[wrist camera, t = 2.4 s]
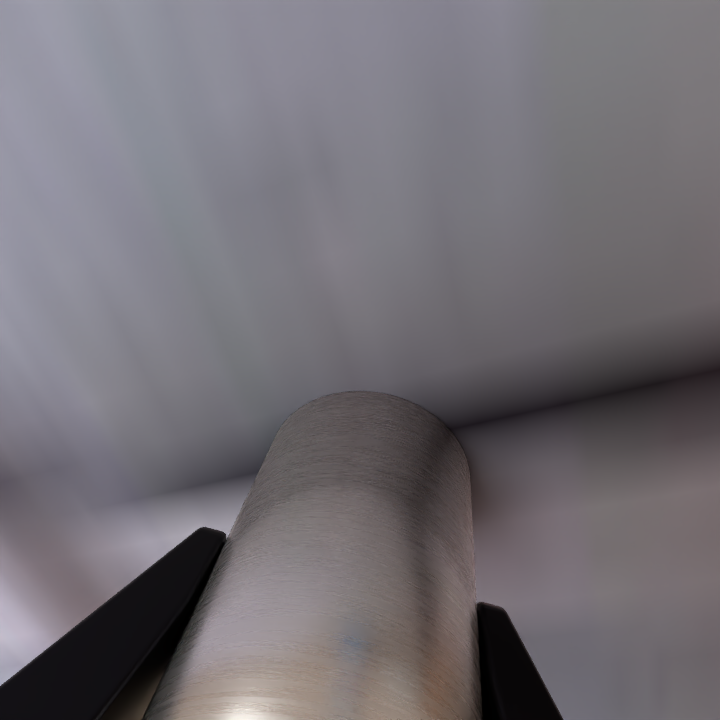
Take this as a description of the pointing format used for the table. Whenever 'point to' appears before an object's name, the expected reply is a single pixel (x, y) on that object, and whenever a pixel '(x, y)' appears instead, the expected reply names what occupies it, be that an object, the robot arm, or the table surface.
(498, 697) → the robot arm
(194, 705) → the cylinder
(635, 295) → the table surface
